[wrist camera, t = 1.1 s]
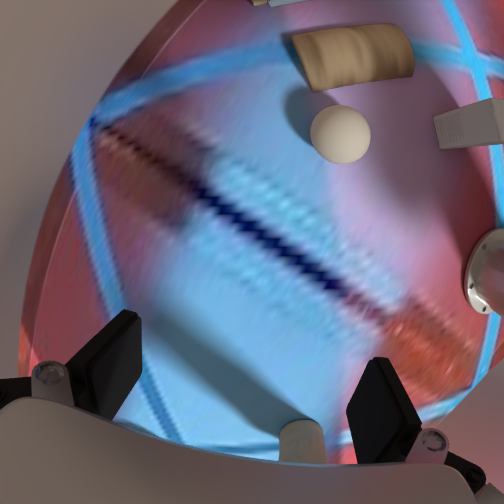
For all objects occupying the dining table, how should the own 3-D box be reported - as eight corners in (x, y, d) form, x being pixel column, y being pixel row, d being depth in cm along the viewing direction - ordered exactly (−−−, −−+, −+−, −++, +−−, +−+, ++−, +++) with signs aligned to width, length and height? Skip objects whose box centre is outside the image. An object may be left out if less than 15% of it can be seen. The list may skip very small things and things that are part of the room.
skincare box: (465, 115, 26) (525, 101, 14) (472, 147, 27) (535, 143, 15) (430, 115, 26) (490, 96, 15) (438, 150, 27) (501, 144, 16)
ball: (350, 107, 27) (366, 93, 22) (367, 158, 29) (387, 154, 23) (299, 119, 28) (305, 105, 22) (316, 171, 30) (326, 170, 24)
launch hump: (375, 38, 29) (394, 13, 21) (396, 87, 30) (422, 70, 23) (287, 52, 30) (290, 23, 23) (308, 104, 32) (317, 85, 24)
